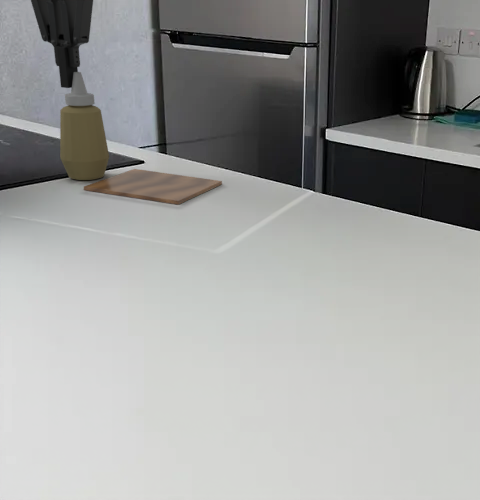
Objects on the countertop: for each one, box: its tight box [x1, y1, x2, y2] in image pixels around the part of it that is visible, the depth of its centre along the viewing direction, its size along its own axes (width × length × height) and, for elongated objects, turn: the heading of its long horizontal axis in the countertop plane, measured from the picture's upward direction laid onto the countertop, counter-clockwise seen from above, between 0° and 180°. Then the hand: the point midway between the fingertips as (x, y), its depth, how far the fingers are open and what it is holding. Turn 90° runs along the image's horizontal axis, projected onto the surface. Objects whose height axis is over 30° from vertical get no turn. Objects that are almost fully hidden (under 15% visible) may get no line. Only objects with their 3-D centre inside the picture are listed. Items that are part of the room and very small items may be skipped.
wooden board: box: [83, 168, 223, 205], centre depth 116 cm, size 18×14×1 cm
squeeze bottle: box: [59, 71, 110, 181], centre depth 117 cm, size 8×8×18 cm
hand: (70, 86), depth 116 cm, fingers closed
